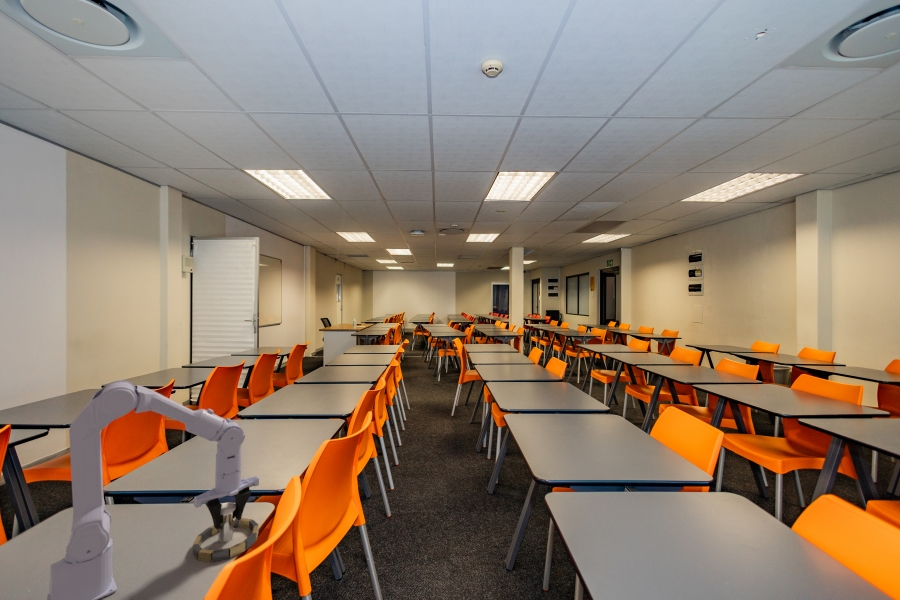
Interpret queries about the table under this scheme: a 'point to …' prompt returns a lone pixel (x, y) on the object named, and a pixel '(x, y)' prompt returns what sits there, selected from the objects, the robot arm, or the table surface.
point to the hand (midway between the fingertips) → (227, 522)
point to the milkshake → (226, 522)
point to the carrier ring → (228, 552)
